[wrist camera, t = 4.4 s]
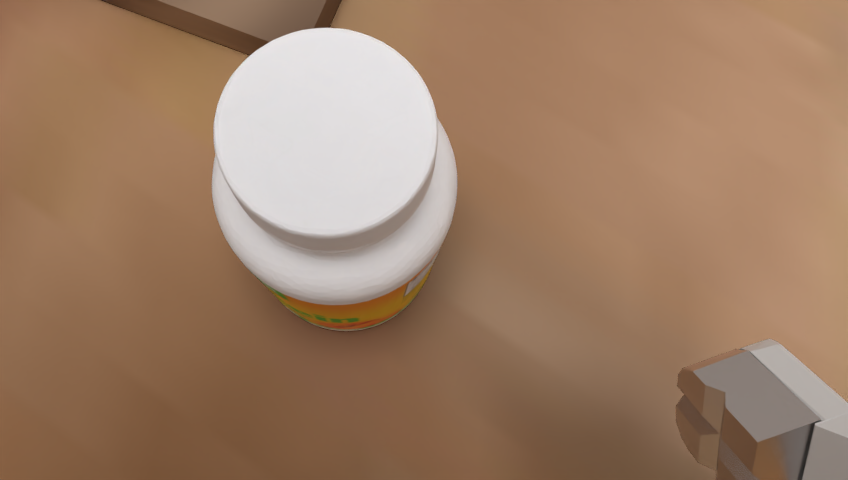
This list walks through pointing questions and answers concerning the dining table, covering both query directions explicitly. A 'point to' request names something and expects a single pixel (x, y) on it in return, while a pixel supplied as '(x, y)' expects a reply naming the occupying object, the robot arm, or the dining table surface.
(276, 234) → the supplement bottle
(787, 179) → the dining table surface
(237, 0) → the walnut board
